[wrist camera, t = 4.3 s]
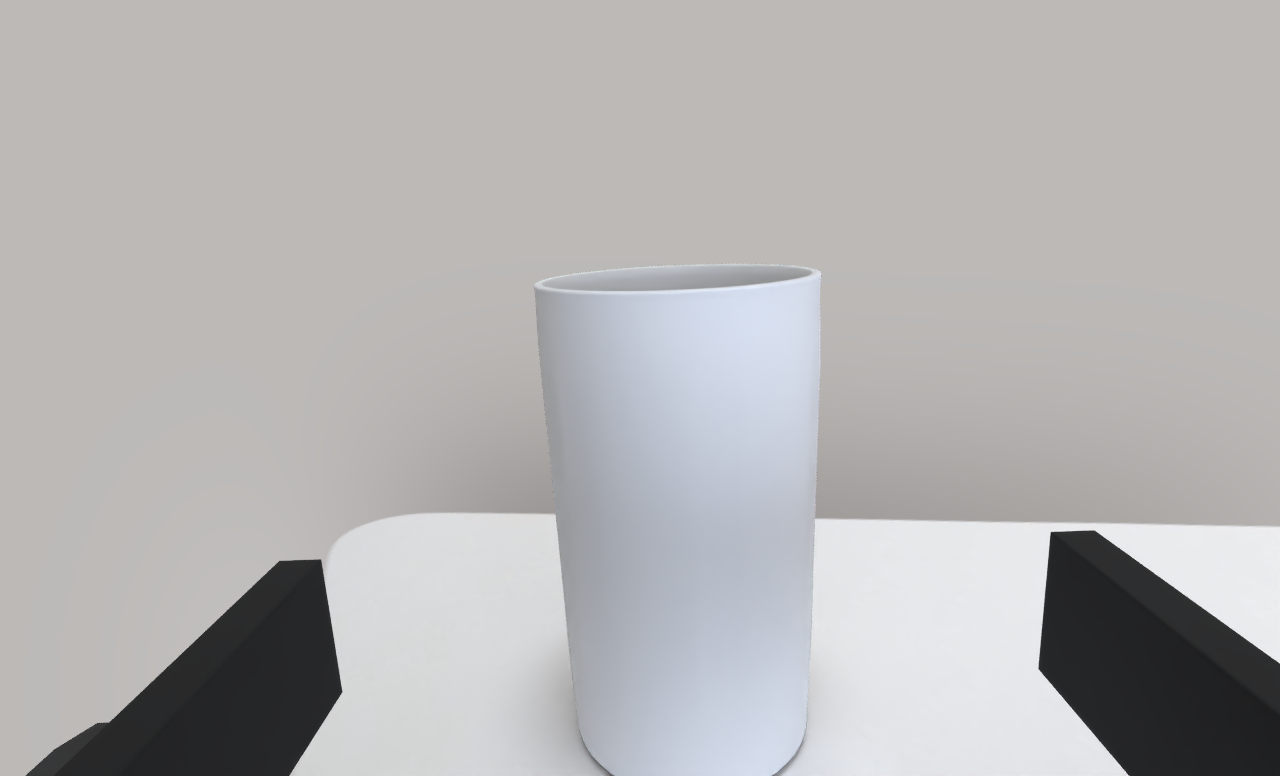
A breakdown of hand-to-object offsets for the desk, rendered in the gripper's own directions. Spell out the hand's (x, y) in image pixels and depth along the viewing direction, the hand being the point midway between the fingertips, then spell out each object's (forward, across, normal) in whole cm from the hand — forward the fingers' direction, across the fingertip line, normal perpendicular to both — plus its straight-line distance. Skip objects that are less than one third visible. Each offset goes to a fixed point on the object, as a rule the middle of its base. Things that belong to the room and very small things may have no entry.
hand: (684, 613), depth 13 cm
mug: (+7, 0, -7) cm, 10 cm away
